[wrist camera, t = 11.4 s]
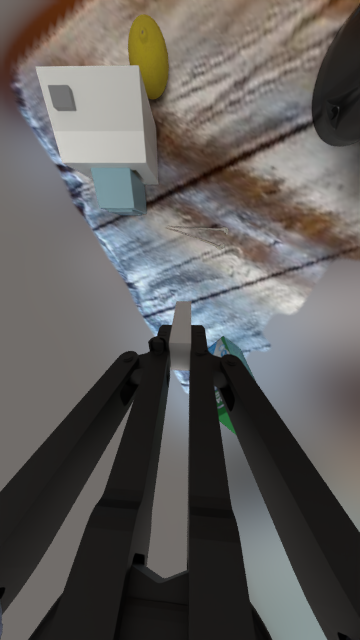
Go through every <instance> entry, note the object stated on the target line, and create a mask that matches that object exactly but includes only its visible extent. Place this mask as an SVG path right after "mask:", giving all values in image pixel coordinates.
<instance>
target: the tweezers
mask: <svg viewBox="0 0 360 640" xmlns="http://www.w3.org/2000/svg"><path fill="white" fill-rule="evenodd" d="M170 227H175V228H192V227H177V226H170ZM167 229H169V228H167ZM193 229H201V230H219V231H224V233H226V235H227V234H228V231H229V230H228V228H227V227H223V228H217V229H216V228H193ZM170 230H173V229H170ZM173 231H177V232H180V231H178V230H173ZM180 233H183V232H180ZM183 234H185V235H188V236H191V235H189V234H186V233H183ZM191 237H194V236H191ZM194 238H196V239H199V240H202V241H204V242H207V243H209V244H212V245H214V246H215V247H217V248H218V249H223V248H224V245H225V244H221V245H216V244H214V243H212V242H209V241H206V240H204V239H201V238H197V237H194Z"/></svg>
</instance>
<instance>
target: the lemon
mask: <svg viewBox="0 0 360 640" xmlns="http://www.w3.org/2000/svg"><path fill="white" fill-rule="evenodd" d="M128 52H129V62H130V65H139V68H140V72H141V75H142V79H143V83H144V86H145V90H146V93H147V97H148V98H149V99H157V98H158V97H160V96H161V95H162V93H163V92H164V90H165V87H166V84H167V80H168V71H169V64H168V53H167V49H166V44H165V40H164V37H163V35H162V32H161V30H160V28H159V26H158V25H157V23H156V22H155V20H154V19H152V18H151V17H150V16H148V15H140V16H138V17H137V18H136V19H135V20H134V22H133V24H132V26H131V28H130V33H129V40H128Z"/></svg>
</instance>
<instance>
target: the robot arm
mask: <svg viewBox="0 0 360 640" xmlns="http://www.w3.org/2000/svg"><path fill="white" fill-rule="evenodd" d="M313 120H314V124H315V128H316V130H317V132H318V134H319V136H320V137H321V138H322V139H323V140H324V141H325V142H326V143H328V144H330V145H333V146H347V145H350V144H353V143H356V142H358V141H360V4H359V5H358V7H357V8H356V9H355V11H354V12H353V13H352V14H351V16H350V17H349V18H348V20H347V21H346V22H345V24H344V25H343V26H342V28H341V29H340V31H339V32H338V34H337V35H336V37H335V39H334V40H333V42H332V44H331V46H330V48H329V50H328V52H327V54H326V56H325V58H324V61H323V63H322V66H321V68H320V71H319V74H318V78H317V81H316V85H315V90H314V96H313ZM148 343H149V349H150V352H148V353H145V354H141V355H138V354H137V353H136V352H134V351H128V352H125V353H123V354H121V355H120V356H119V358H117V360H116V361H115V362H114V363H113V364H112V365H111V366H110V368H109V369H108V370H107V371H106V372H105V374H104V375H103V376H102V377H101V378H100V379H99V380H98V381H97V382H96V384H95V385H94V386H93V387H92V388H91V389H90V391H88V393H87V394H86V395H85V396H84V397H83V398H82V400H81V401H80V402H79V403H78V404H77V405H76V406H75V407H74V409H73V410H72V411H71V412H70V413H69V414H68V415H67V417H66V418H65V419H64V420H63V421H62V422H61V423H60V425H59V426H58V427H57V428H56V429H55V430H54V431H53V433H52V434H51V435H50V436H49V437H48V438H47V439H46V441H45V442H44V443H43V444H42V445H41V446H40V447H39V448H38V450H37V451H36V452H35V453H34V454H33V455H32V456H31V458H30V459H29V460H28V461H27V462H26V463H25V464H24V466H23V467H22V468H21V469H20V470H19V471H18V472H17V473H16V475H15V476H14V477H13V478H12V479H11V480H10V481H9V483H8V484H7V485H6V486H5V487H4V488H3V490H2V491H1V492H0V638H1V635H2V628H3V624H2V614H3V613H4V612H5V610H6V609H7V608H8V606H9V605H10V604H11V602H12V601H13V600H14V598H15V597H16V596H17V594H18V593H19V592H20V590H21V589H22V587H23V586H24V585H25V583H26V582H27V580H28V579H29V577H30V576H31V574H32V573H33V571H34V570H35V568H36V567H37V565H38V564H39V562H40V560H41V559H42V557H43V555H44V554H45V552H46V551H47V549H48V547H49V546H50V544H51V543H52V541H53V539H54V537H55V536H56V533H57V532H58V530H59V529H60V527H61V525H62V523H63V522H64V520H65V518H66V517H67V515H68V513H69V511H70V510H71V508H72V506H73V504H74V503H75V501H76V499H77V497H78V496H79V494H80V492H81V490H82V489H83V487H84V485H85V483H86V482H87V480H88V478H89V477H90V475H91V473H92V471H93V470H94V468H95V466H96V464H97V463H98V461H99V459H100V458H101V456H102V454H103V452H104V451H105V449H106V447H107V445H108V444H109V442H110V440H111V439H112V437H113V435H114V433H115V432H116V430H117V428H118V426H119V425H120V423H121V421H122V420H123V418H124V416H125V414H126V413H127V411H128V409H129V407H130V406H131V404H132V402H133V404H132V408H131V411H130V414H129V417H128V420H127V423H126V426H125V429H124V432H123V436H122V439H121V442H120V445H119V448H118V451H117V454H116V457H115V460H114V463H113V466H112V469H111V473H110V476H109V479H108V482H107V485H106V488H105V491H104V494H103V495H102V497H101V499H100V500H99V502H98V503H97V504H96V505H95V507H94V509H93V511H92V513H91V515H90V518H89V520H88V523H87V525H86V528H85V531H84V534H83V536H82V540H81V542H80V545H79V548H78V551H77V554H76V557H75V559H74V562H73V565H72V568H71V571H70V574H69V577H68V580H67V583H66V586H65V588H64V591H63V593H62V594H61V596H60V597H59V598H58V599H57V601H56V602H55V603H54V604H53V606H52V607H51V608H50V610H49V611H48V613H47V614H46V616H45V617H44V618H43V620H42V621H41V622H40V624H39V625H38V627H37V628H36V629H35V631H34V632H33V634H32V635H31V636H30V638H29V639H28V640H272V638H271V636H270V634H269V632H268V630H267V628H266V626H265V624H264V623H263V621H262V620H261V618H260V616H259V614H258V613H257V611H256V609H255V608H254V607H253V605H252V604H251V602H250V600H249V594H248V587H247V581H246V574H245V568H244V562H243V555H242V548H241V542H240V536H239V531H238V526H237V522H236V519H235V516H234V513H233V510H232V506H231V500H230V494H229V487H228V480H227V473H226V466H225V459H224V451H223V445H222V437H221V430H220V424H219V416H218V409H217V402H216V395H215V388H214V386H216V387H217V390H218V392H219V395H220V397H221V399H222V402H223V404H224V407H225V409H226V411H227V414H228V416H229V418H230V421H231V423H232V426H233V428H234V430H235V433H236V435H237V437H238V439H239V442H240V444H241V447H242V449H243V451H244V454H245V456H246V459H247V461H248V463H249V466H250V468H251V470H252V473H253V475H254V478H255V480H256V483H257V485H258V487H259V490H260V492H261V494H262V497H263V499H264V501H265V504H266V506H267V508H268V511H269V513H270V516H271V518H272V520H273V523H274V525H275V528H276V530H277V532H278V535H279V537H280V539H281V542H282V544H283V547H284V549H285V551H286V554H287V556H288V558H289V561H290V563H291V566H292V568H293V570H294V572H295V575H296V577H297V579H298V581H299V583H300V586H301V588H302V590H303V592H304V595H305V597H306V599H307V601H308V603H309V605H310V607H311V609H312V611H313V613H314V615H315V617H316V619H317V621H318V622H319V625H320V626H321V628H322V630H323V632H324V634H325V636H326V638H327V640H360V532H359V531H358V529H357V528H356V527H355V525H354V524H353V522H352V521H351V520H350V518H349V516H348V515H347V514H346V512H345V511H344V509H343V508H342V506H341V505H340V503H339V502H338V500H337V499H336V498H335V496H334V495H333V493H332V492H331V490H330V489H329V487H328V486H327V484H326V483H325V482H324V480H323V479H322V477H321V476H320V474H319V473H318V471H317V470H316V468H315V467H314V466H313V464H312V463H311V461H310V460H309V458H308V457H307V455H306V454H305V452H304V451H303V450H302V448H301V447H300V445H299V444H298V442H297V441H296V439H295V438H294V437H293V435H292V434H291V432H290V431H289V429H288V428H287V426H286V425H285V423H284V422H283V421H282V419H281V418H280V416H279V415H278V413H277V412H276V410H275V409H274V407H273V406H272V405H271V403H270V402H269V400H268V399H267V397H266V396H265V395H264V393H263V392H262V390H261V389H260V387H259V386H258V384H257V383H256V381H255V380H254V378H253V377H252V376H251V374H250V373H249V371H248V370H247V368H246V367H245V365H244V364H243V362H242V361H241V360H240V359H239V358H238V357H237V356H235V355H232V354H226V355H223V356H222V357H218V356H215V355H213V354H211V353H210V352H209V350H208V348H207V341H206V333H205V328H204V327H203V326H202V325H191V302H187V301H177V302H176V307H175V313H174V318H173V323H172V325H162V326H161V327H160V328H159V331H158V334H157V336H156V337H153V338H151V339H150V340H149V342H148ZM170 368H171V370H185V371H190V377H189V457H188V460H189V461H188V527H187V528H188V529H187V530H188V531H187V570H186V571H184V572H181V573H179V574H176V575H174V576H171V577H168V578H162V577H161V576H159V575H158V574H156V573H155V572H153V571H152V570H150V569H149V568H148V567H146V566H147V558H148V551H149V543H150V534H151V519H152V518H151V517H152V507H153V500H154V492H155V485H156V477H157V470H158V462H159V455H160V447H161V440H162V432H163V425H164V418H165V410H166V403H167V395H168V388H169V381H170ZM133 400H134V401H133Z"/></svg>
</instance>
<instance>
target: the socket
mask: <svg viewBox="0 0 360 640" xmlns="http://www.w3.org/2000/svg"><path fill="white" fill-rule="evenodd" d="M36 70H37V74H38V78H39V81H40V85H41V88H42V92H43V95H44V99H45V103H46V106H47V110H48V113H49V117H50V120H51V124H52V128H53V131H54V135H55V138H56V142H57V146H58V149H59V153H60V156H61V160H62V163H64V164H65V165H67V166H69V167H71V168H73V169H75V170H76V171H78V172H80V173H82V174H84V175H85V176H87V177H89V178H91V179H93V177H92V172H91V168H130V169H131V170H136V173H137V177H138V178H139V179H140V180H141V181H142V183H143V184H144V185H159V181H158V160H157V140H156V126H155V122H154V119H153V115H152V111H151V108H150V104H149V101H148V97H147V93H146V90H145V86H144V83H143V79H142V75H141V72H140V68H139V65H129V66H49V67H36Z"/></svg>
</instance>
